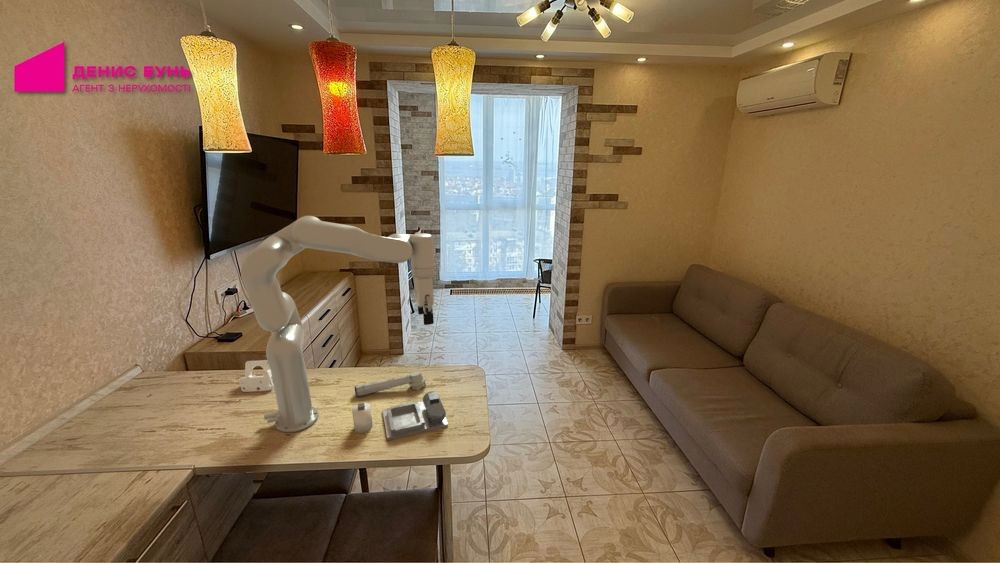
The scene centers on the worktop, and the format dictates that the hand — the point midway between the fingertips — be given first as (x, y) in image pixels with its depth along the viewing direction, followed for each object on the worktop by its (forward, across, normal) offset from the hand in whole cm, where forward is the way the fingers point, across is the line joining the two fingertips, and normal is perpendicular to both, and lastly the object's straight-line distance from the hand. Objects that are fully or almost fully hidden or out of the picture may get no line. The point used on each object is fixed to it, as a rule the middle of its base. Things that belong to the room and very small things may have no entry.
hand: (425, 318), depth 134 cm
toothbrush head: (+31, -8, -13) cm, 34 cm away
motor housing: (+30, +12, -8) cm, 33 cm away
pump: (+30, +10, -24) cm, 40 cm away
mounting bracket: (+30, -29, -58) cm, 72 cm away
